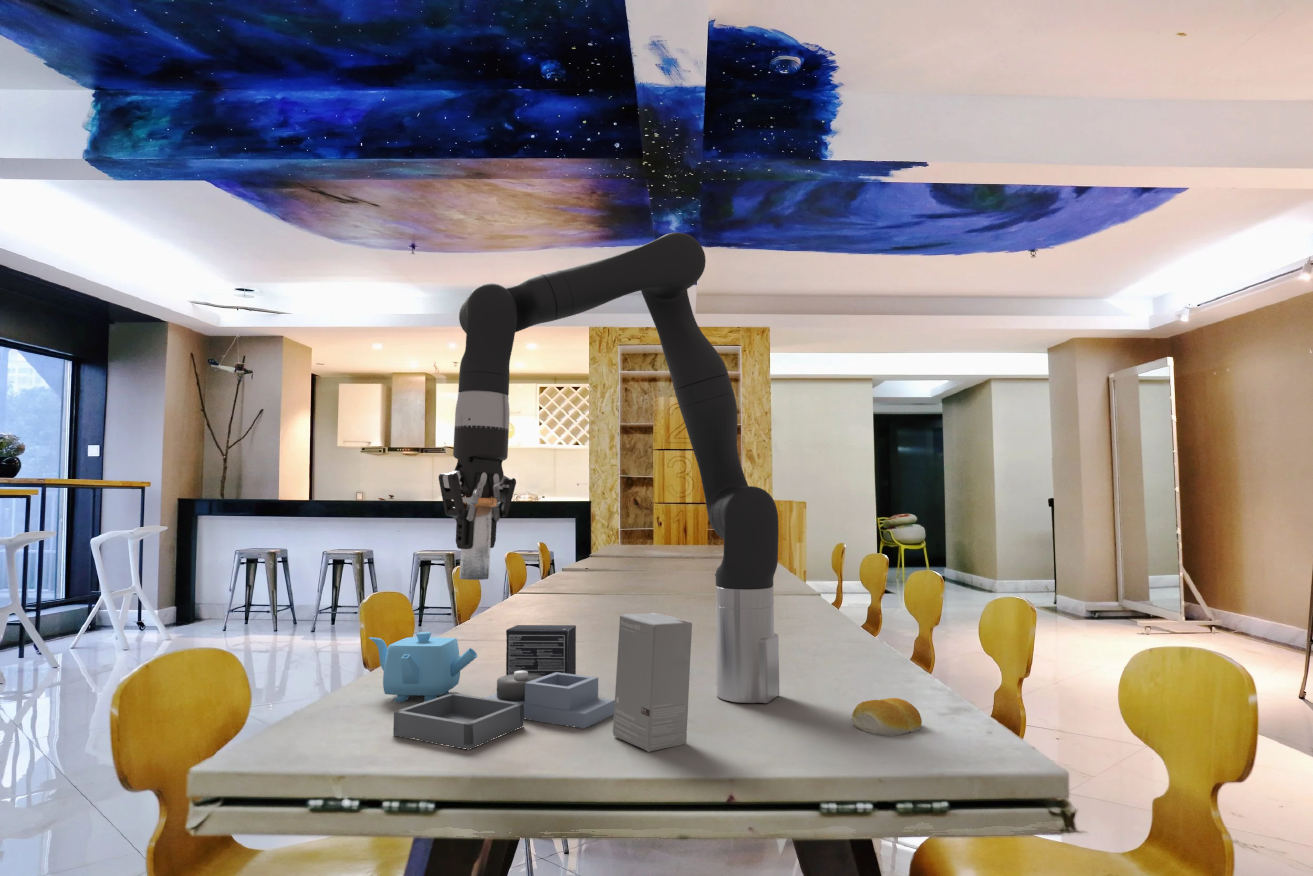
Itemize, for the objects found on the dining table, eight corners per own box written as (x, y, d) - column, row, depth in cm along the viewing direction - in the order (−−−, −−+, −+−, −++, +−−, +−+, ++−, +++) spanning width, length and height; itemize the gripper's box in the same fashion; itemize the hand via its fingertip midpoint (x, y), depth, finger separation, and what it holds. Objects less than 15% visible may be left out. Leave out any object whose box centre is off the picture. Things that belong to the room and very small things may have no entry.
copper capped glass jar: (501, 578, 104) (504, 498, 105) (475, 580, 100) (479, 497, 101) (472, 576, 107) (476, 497, 108) (446, 578, 102) (451, 496, 103)
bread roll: (933, 729, 101) (932, 699, 101) (889, 741, 96) (888, 709, 96) (884, 715, 108) (883, 687, 108) (841, 725, 103) (840, 696, 103)
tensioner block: (614, 714, 108) (614, 676, 108) (584, 729, 101) (584, 688, 101) (516, 699, 116) (516, 664, 117) (481, 712, 109) (482, 674, 110)
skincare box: (611, 737, 97) (611, 614, 99) (655, 727, 102) (655, 610, 103) (649, 754, 91) (649, 622, 92) (694, 743, 95) (693, 617, 96)
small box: (577, 687, 124) (577, 623, 125) (569, 697, 118) (569, 630, 119) (515, 686, 125) (516, 623, 126) (504, 696, 119) (505, 629, 120)
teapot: (488, 688, 124) (489, 626, 125) (458, 711, 110) (460, 641, 111) (384, 686, 125) (386, 625, 126) (342, 708, 112) (344, 640, 112)
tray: (523, 727, 102) (523, 703, 102) (468, 750, 92) (469, 724, 93) (451, 714, 108) (452, 693, 108) (393, 735, 98) (393, 711, 99)
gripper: (467, 419, 97) (460, 551, 96) (534, 431, 110) (529, 548, 108) (425, 421, 101) (417, 548, 99) (494, 432, 113) (489, 545, 112)
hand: (475, 547), depth 104 cm, fingers closed on copper capped glass jar, 4 cm apart
